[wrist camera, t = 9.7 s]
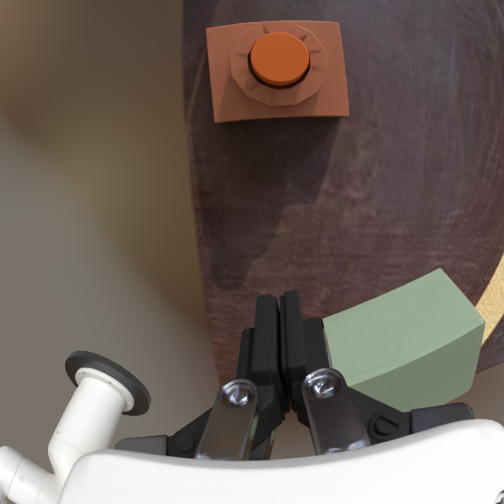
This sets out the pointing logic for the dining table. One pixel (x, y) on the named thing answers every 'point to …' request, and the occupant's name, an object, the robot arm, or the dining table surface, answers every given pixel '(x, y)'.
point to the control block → (270, 96)
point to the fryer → (409, 344)
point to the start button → (279, 58)
